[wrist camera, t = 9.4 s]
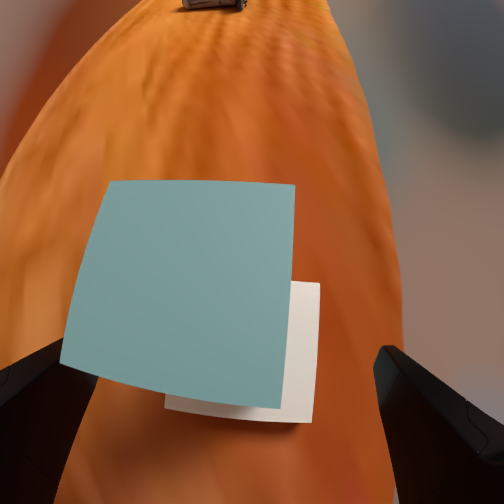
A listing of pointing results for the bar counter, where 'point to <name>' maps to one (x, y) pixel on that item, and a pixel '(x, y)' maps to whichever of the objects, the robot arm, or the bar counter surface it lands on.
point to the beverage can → (212, 3)
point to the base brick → (295, 372)
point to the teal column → (187, 290)
